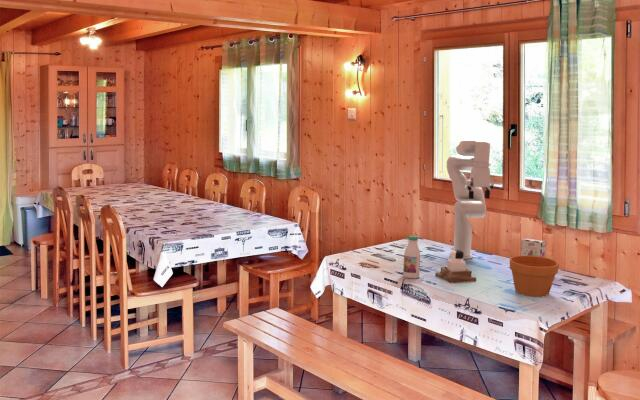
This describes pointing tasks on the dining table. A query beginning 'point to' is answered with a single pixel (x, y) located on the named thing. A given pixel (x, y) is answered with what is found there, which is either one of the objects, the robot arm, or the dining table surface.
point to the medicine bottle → (456, 261)
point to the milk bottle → (411, 258)
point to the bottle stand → (455, 275)
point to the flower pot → (533, 274)
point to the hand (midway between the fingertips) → (479, 198)
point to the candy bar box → (533, 247)
